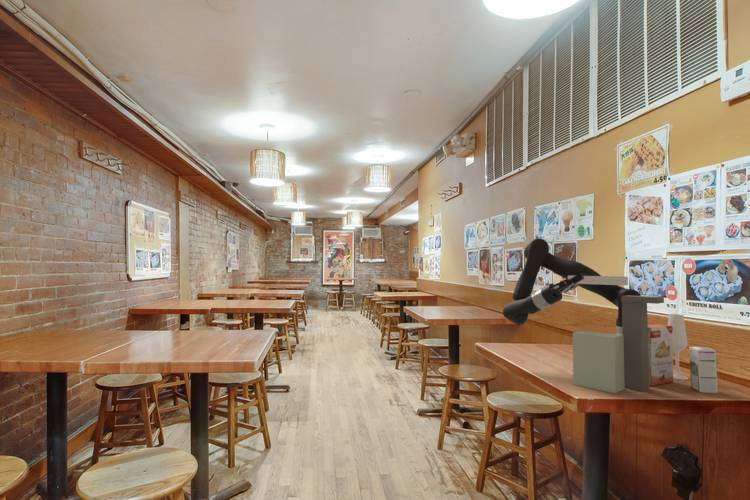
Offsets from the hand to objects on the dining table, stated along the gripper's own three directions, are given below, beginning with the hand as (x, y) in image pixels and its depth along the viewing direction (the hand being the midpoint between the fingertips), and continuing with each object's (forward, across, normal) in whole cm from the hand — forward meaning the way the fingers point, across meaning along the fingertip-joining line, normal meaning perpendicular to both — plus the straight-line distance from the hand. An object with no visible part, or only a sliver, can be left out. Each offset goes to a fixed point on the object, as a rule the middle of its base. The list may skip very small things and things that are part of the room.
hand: (583, 276), depth 159 cm
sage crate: (-13, -5, +37) cm, 40 cm away
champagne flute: (-2, +33, +44) cm, 55 cm away
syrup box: (+8, +18, +50) cm, 53 cm away
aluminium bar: (+2, 0, +5) cm, 5 cm away
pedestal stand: (-3, +4, +43) cm, 43 cm away
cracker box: (-4, +17, +43) cm, 46 cm away
